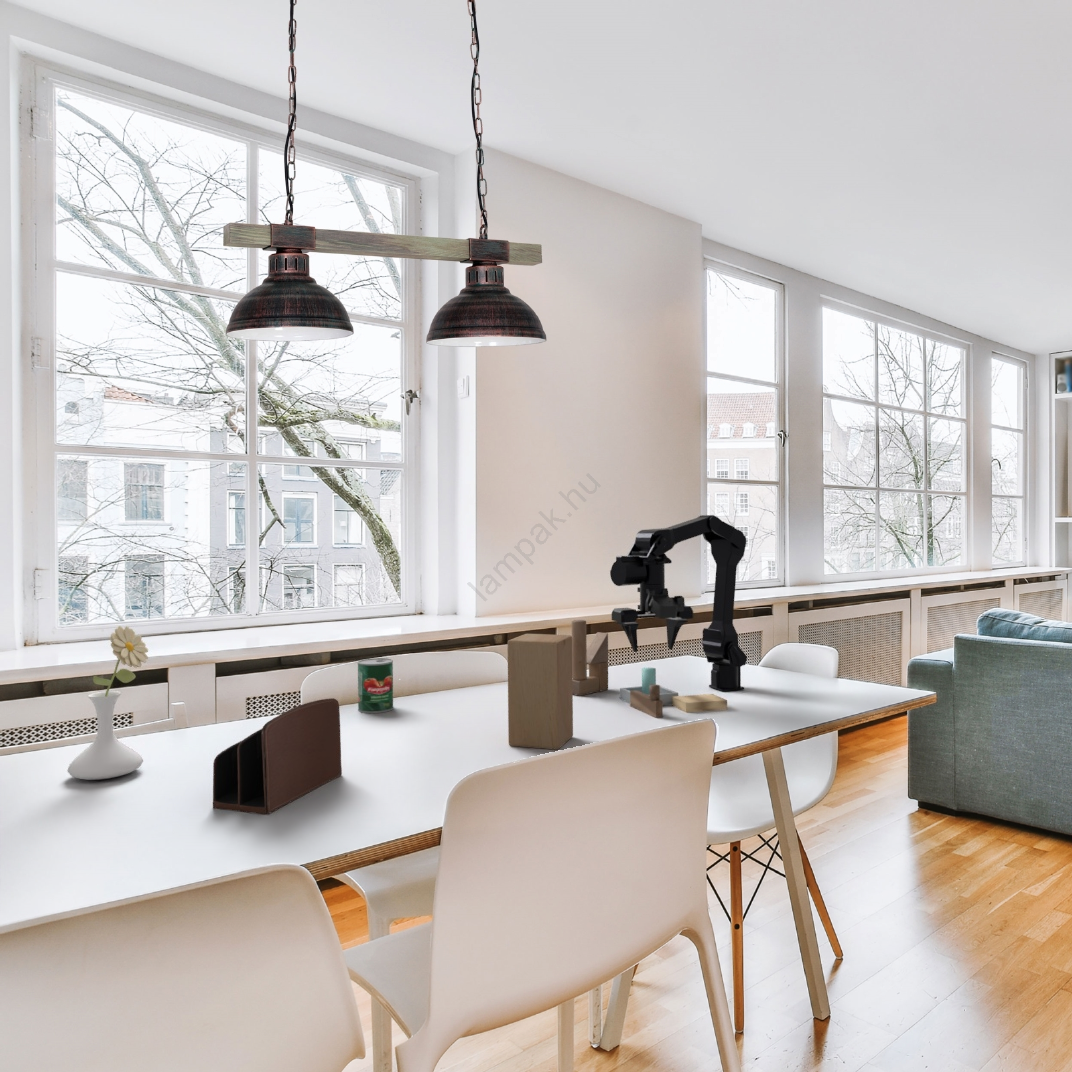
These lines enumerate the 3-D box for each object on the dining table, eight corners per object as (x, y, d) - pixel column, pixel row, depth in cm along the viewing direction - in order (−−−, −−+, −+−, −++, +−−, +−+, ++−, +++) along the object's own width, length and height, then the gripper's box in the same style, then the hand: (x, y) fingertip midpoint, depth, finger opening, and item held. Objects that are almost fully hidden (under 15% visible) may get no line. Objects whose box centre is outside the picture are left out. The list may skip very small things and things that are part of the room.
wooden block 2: (608, 689, 205) (608, 617, 205) (579, 696, 197) (579, 621, 197) (597, 687, 208) (597, 616, 207) (568, 694, 200) (568, 620, 200)
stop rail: (637, 705, 187) (637, 677, 187) (663, 717, 176) (663, 686, 176) (629, 706, 186) (628, 677, 186) (654, 718, 175) (654, 687, 175)
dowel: (651, 696, 193) (651, 667, 193) (658, 699, 190) (658, 669, 190) (639, 697, 192) (639, 668, 192) (646, 700, 189) (645, 670, 189)
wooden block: (573, 736, 161) (572, 634, 160) (558, 750, 151) (557, 642, 151) (525, 733, 164) (524, 633, 163) (507, 746, 154) (506, 640, 154)
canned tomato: (374, 714, 181) (373, 665, 180) (350, 710, 185) (350, 661, 185) (400, 708, 187) (400, 660, 187) (377, 703, 192) (376, 656, 192)
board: (712, 704, 189) (712, 693, 189) (727, 711, 182) (727, 700, 182) (672, 707, 187) (672, 696, 187) (685, 714, 180) (685, 702, 180)
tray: (657, 695, 198) (657, 684, 198) (678, 703, 188) (678, 692, 188) (619, 698, 194) (619, 688, 194) (639, 707, 185) (639, 696, 185)
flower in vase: (91, 790, 131) (88, 634, 131) (53, 778, 137) (50, 629, 137) (166, 768, 142) (163, 625, 142) (127, 759, 148) (125, 621, 148)
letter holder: (342, 776, 138) (341, 692, 138) (267, 816, 119) (266, 719, 119) (292, 770, 141) (291, 689, 141) (211, 809, 122) (209, 715, 122)
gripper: (631, 587, 180) (632, 658, 180) (705, 584, 186) (706, 652, 187) (610, 584, 190) (610, 651, 191) (680, 581, 197) (681, 646, 197)
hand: (653, 650), depth 191 cm, fingers open, 9 cm apart
